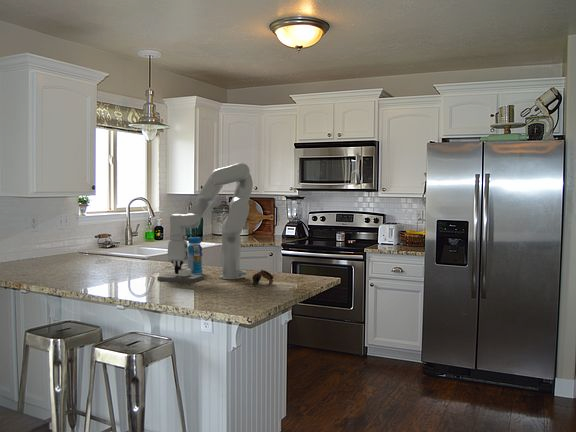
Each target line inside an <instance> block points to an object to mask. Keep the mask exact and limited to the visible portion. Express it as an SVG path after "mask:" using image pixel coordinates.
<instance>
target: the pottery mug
mask: <svg viewBox="0 0 576 432" xmlns="http://www.w3.org/2000/svg"><path fill="white" fill-rule="evenodd" d="M262 278H264V279H265V280H267V281H269V282H268V286H271V285H272V284H273V282H274V280H273V279H274V275H273V274H271V273H270V272H269V271H266V270H264V269H261V270H260V271H258V272H257V273H255V274H254V275H252V278H251V280H252V286H255V285H256V286H257V285H259V283H260V281H261V279H262Z"/></svg>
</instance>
